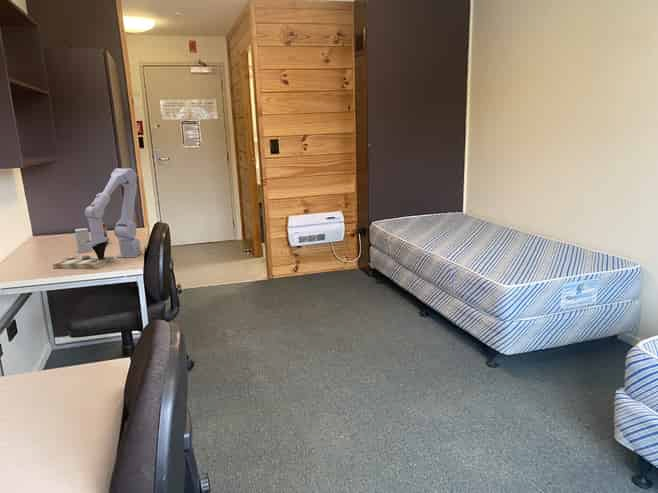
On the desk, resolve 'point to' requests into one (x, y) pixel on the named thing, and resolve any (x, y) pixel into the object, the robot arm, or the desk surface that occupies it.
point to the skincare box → (82, 240)
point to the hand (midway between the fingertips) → (101, 258)
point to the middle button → (85, 257)
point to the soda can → (105, 231)
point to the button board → (82, 263)
